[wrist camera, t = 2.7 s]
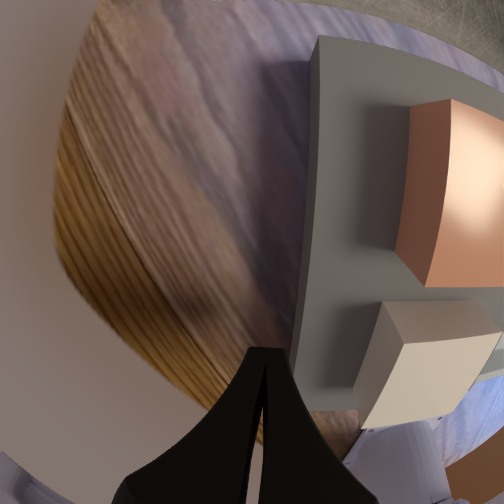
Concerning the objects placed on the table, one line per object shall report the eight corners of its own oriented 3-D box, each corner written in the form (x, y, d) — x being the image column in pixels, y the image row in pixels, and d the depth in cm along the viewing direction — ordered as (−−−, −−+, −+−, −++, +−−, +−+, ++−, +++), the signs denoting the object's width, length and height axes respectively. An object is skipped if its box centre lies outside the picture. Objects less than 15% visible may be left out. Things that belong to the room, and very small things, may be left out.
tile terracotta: (488, 258, 8) (522, 286, 6) (394, 252, 9) (424, 287, 6) (506, 140, 6) (548, 148, 4) (409, 106, 7) (450, 98, 4)
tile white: (436, 378, 11) (451, 412, 9) (352, 387, 11) (360, 428, 9) (474, 299, 9) (502, 331, 7) (382, 301, 9) (404, 343, 7)
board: (452, 361, 14) (468, 390, 11) (287, 370, 15) (286, 410, 12) (514, 121, 8) (549, 124, 5) (309, 60, 9) (318, 34, 6)
